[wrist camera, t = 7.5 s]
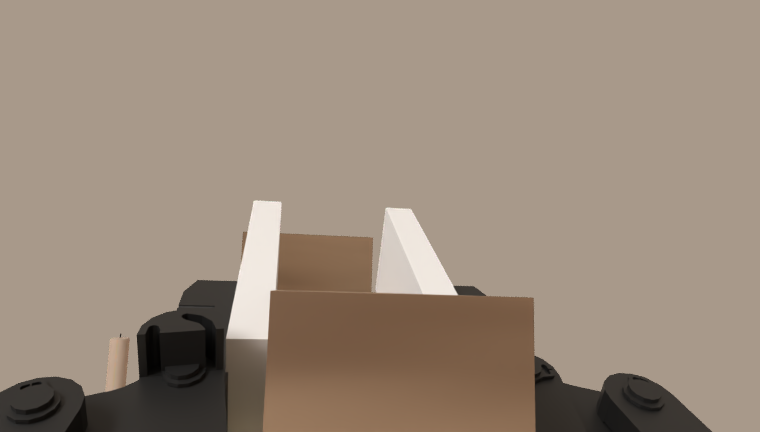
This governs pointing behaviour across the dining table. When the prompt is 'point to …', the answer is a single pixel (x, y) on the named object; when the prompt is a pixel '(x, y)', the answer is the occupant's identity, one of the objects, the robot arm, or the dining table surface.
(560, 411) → the robot arm
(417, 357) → the walnut mallet
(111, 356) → the candlestick
